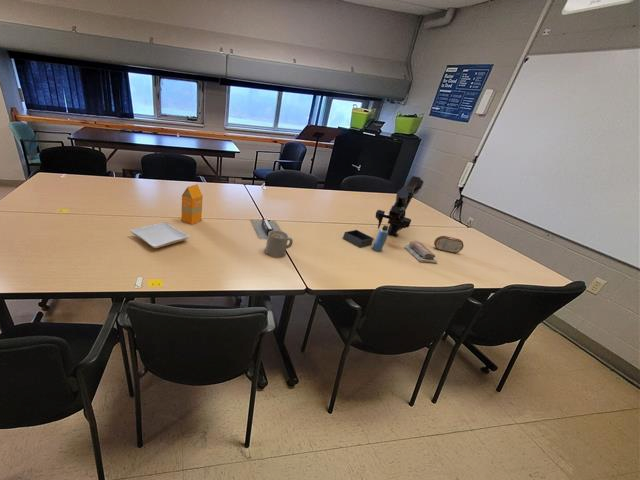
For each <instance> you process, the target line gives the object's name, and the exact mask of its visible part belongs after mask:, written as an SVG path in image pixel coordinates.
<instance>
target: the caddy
mask: <svg viewBox="0 0 640 480" xmlns="http://www.w3.org/2000/svg"><path fill="white" fill-rule="evenodd" d="M343 239H344V240H345V241H347V242H349V243H351V244H353V245H354V246H357V247H358V248H364V247H367V246H371V245H372V244H373V242H374V237H373V236H369V234H366V233H364V232H363V231H360V230H358V229H354V230H349V231H348V230H347V231H344V234H343V237H342V240H343Z"/></svg>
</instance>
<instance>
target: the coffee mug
mask: <svg viewBox="0 0 640 480" xmlns="http://www.w3.org/2000/svg"><path fill="white" fill-rule="evenodd" d="M288 242H289V243H288ZM293 242H294V239H293V238H292V237H290V236H289V234H288V233H287V232H285V231H282V230H280V231H278V230H272V231H270V232H269V233H268V238H266V245H265V250H264V252H265V254H266V255H267V256H269V257H273V258H283V257H285V254H286V251H287V249H289V248H291V247H292V245H293Z"/></svg>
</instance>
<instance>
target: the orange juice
mask: <svg viewBox="0 0 640 480" xmlns="http://www.w3.org/2000/svg"><path fill="white" fill-rule="evenodd" d="M203 197H204V195H203V194H202V192H201V189H200V187H199V185H198V184H194V185H189V186H187V187H186V188H185V190H184V192H183V193H182V194H181V221H182V222H185V223H187V224H190V225H194V224H196V223H198V222H200V221H202V217H203V216H202V215H203Z"/></svg>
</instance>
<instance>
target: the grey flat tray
mask: <svg viewBox="0 0 640 480" xmlns="http://www.w3.org/2000/svg"><path fill="white" fill-rule="evenodd" d="M251 222H252V225H253V227H254V229H255V231H256V233H257V235H258V237H259V239H267V238H268V233H269V232H270V231H272V230H278V231H281V230H280V228H279V227H278V225H277V223H276V222H275V221H269V220H268V219H262V220H251Z"/></svg>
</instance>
